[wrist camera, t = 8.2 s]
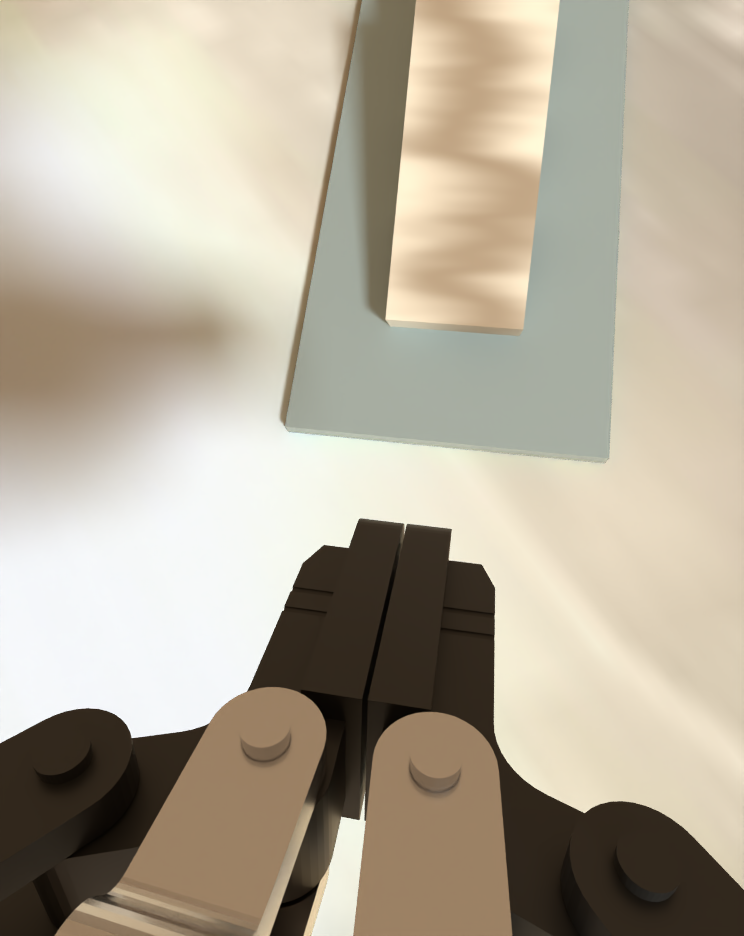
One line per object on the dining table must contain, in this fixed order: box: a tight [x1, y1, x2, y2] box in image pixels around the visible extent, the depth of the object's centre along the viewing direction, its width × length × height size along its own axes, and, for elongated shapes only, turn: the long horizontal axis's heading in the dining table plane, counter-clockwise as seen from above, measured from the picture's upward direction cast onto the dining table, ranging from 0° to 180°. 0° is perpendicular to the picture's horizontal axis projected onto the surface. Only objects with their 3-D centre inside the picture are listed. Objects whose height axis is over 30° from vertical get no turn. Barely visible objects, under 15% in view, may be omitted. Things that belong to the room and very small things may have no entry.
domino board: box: [285, 0, 629, 463], centre depth 27 cm, size 12×26×1 cm, turn 172°
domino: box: [385, 0, 560, 336], centre depth 23 cm, size 5×2×12 cm
